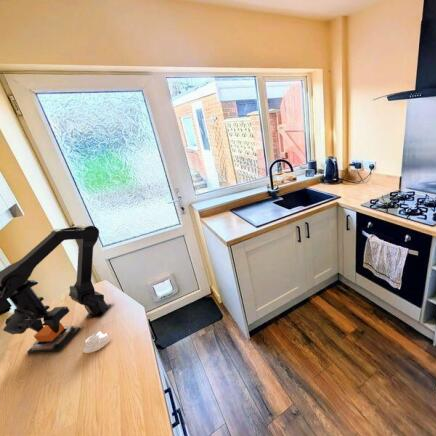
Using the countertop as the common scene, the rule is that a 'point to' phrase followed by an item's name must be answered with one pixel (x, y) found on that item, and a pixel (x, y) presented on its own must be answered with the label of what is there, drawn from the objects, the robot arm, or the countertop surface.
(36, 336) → the orange block
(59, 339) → the mount plate
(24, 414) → the countertop surface
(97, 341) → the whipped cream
